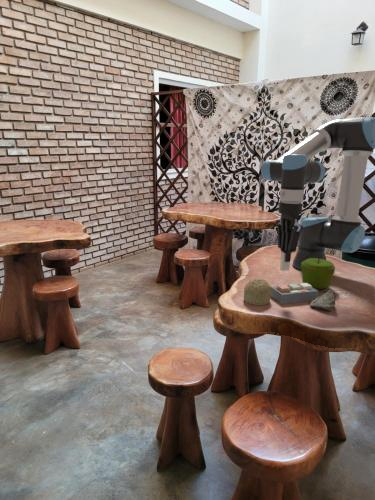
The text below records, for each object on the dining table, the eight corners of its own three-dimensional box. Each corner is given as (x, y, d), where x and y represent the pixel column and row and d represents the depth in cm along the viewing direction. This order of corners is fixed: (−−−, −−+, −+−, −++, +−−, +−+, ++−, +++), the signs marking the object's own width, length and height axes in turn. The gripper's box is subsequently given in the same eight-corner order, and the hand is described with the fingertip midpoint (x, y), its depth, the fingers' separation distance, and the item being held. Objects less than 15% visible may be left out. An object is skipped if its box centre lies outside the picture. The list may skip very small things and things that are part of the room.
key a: (306, 287, 133) (306, 282, 132) (311, 291, 130) (311, 285, 129) (298, 288, 132) (298, 283, 131) (303, 291, 129) (304, 286, 128)
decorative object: (255, 316, 123) (274, 296, 119) (234, 296, 126) (251, 275, 122) (263, 309, 131) (281, 290, 127) (242, 290, 134) (259, 270, 130)
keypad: (304, 291, 136) (305, 282, 135) (317, 299, 128) (318, 289, 127) (270, 295, 132) (270, 285, 131) (281, 304, 124) (282, 293, 123)
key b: (295, 289, 131) (296, 283, 131) (300, 292, 128) (301, 286, 128) (287, 289, 130) (288, 284, 130) (292, 293, 127) (293, 287, 127)
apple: (294, 281, 147) (297, 254, 144) (323, 280, 148) (326, 254, 145) (307, 292, 135) (310, 263, 132) (338, 292, 136) (342, 263, 133)
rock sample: (304, 289, 127) (325, 278, 122) (318, 301, 130) (339, 291, 124) (305, 312, 120) (328, 301, 114) (320, 324, 122) (343, 314, 117)
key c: (284, 290, 130) (285, 284, 130) (289, 293, 127) (290, 288, 127) (276, 290, 129) (277, 285, 129) (281, 294, 126) (282, 288, 126)
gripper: (271, 200, 125) (265, 265, 131) (291, 204, 113) (285, 276, 119) (290, 199, 127) (284, 264, 133) (312, 204, 115) (304, 274, 121)
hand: (284, 269), depth 126 cm, fingers closed
